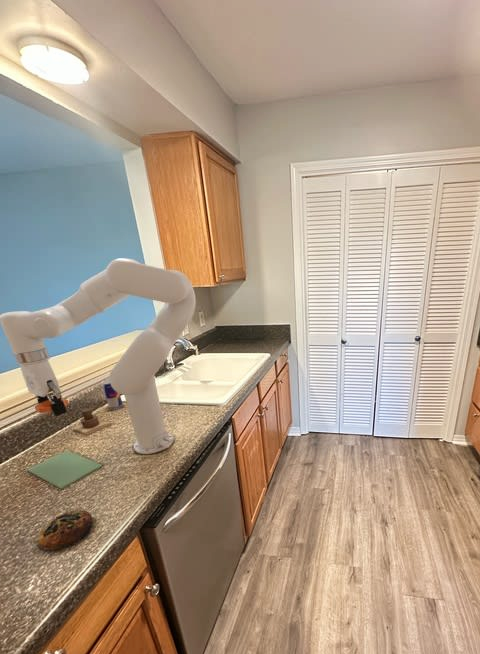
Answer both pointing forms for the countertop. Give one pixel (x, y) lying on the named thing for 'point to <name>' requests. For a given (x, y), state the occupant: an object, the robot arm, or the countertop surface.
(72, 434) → the countertop surface
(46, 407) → the ring
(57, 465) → the mat
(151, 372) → the robot arm
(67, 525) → the bread roll
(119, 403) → the energy drink
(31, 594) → the countertop surface
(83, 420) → the post stand
